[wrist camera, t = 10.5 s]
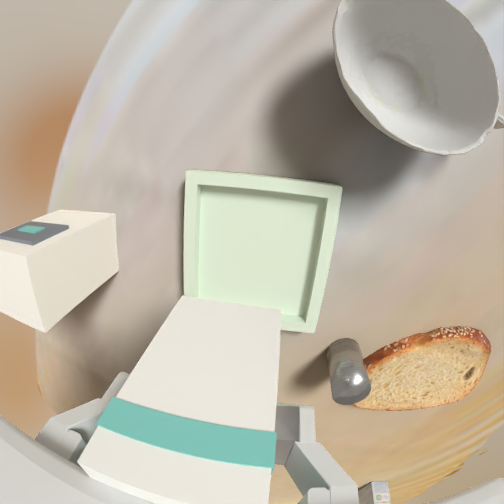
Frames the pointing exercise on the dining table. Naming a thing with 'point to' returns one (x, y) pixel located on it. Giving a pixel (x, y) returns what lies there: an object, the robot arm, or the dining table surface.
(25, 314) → the cream tall block
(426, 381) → the bread slice
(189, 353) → the teal band cartridge
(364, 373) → the cylinder
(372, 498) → the medicine box
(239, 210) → the tray
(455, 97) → the teacup
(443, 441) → the dining table surface
